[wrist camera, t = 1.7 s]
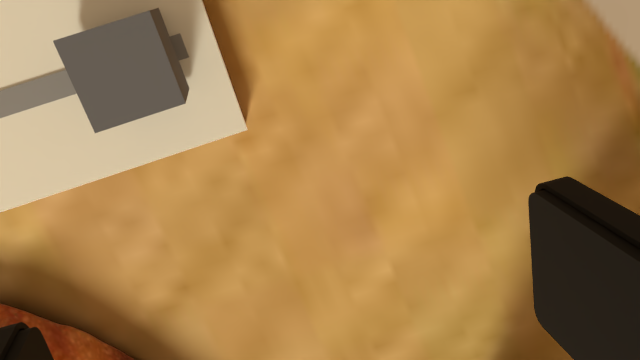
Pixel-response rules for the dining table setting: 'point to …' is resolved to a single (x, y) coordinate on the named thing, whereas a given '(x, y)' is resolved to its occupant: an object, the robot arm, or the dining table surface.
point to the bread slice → (63, 337)
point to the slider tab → (124, 70)
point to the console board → (68, 113)
